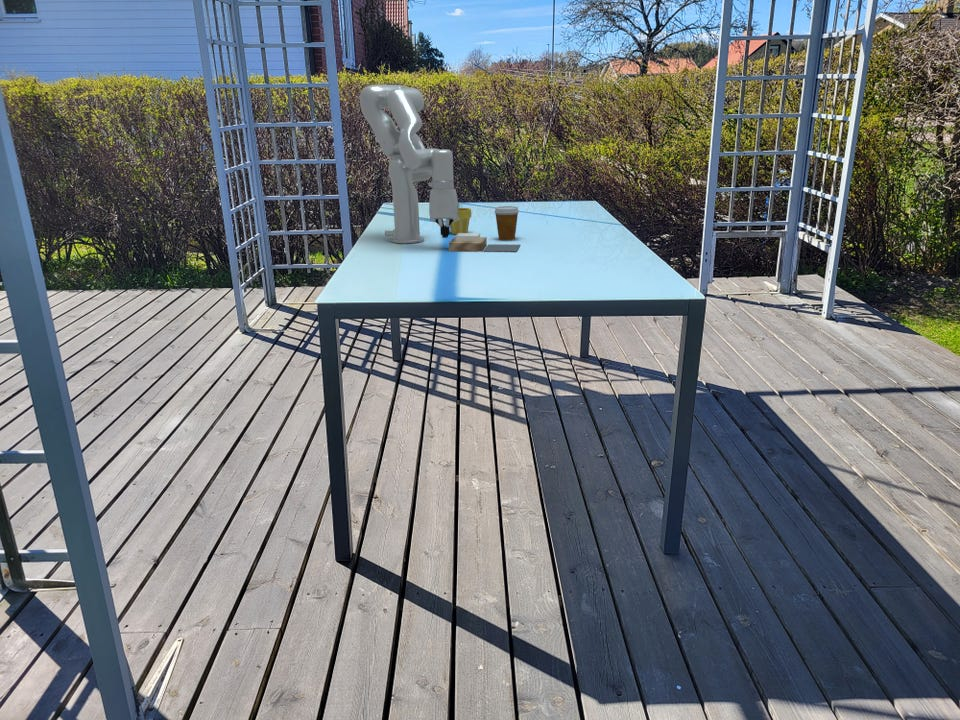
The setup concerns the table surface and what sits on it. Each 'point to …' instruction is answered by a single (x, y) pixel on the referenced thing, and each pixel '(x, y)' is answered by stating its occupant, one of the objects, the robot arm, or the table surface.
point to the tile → (468, 237)
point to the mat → (501, 248)
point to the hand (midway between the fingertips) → (445, 237)
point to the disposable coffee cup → (506, 222)
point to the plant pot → (461, 221)
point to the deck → (468, 245)
